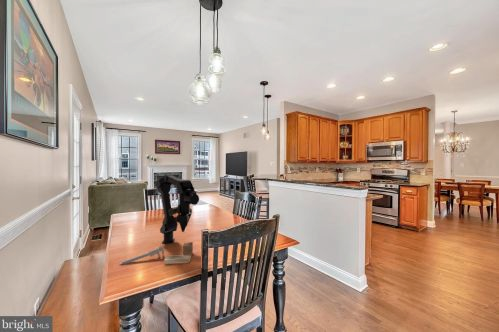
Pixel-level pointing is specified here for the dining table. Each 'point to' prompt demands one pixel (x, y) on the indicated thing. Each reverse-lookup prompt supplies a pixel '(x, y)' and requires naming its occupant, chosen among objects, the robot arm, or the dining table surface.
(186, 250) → the brown block with knob
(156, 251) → the caliper
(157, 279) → the dining table surface
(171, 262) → the board
